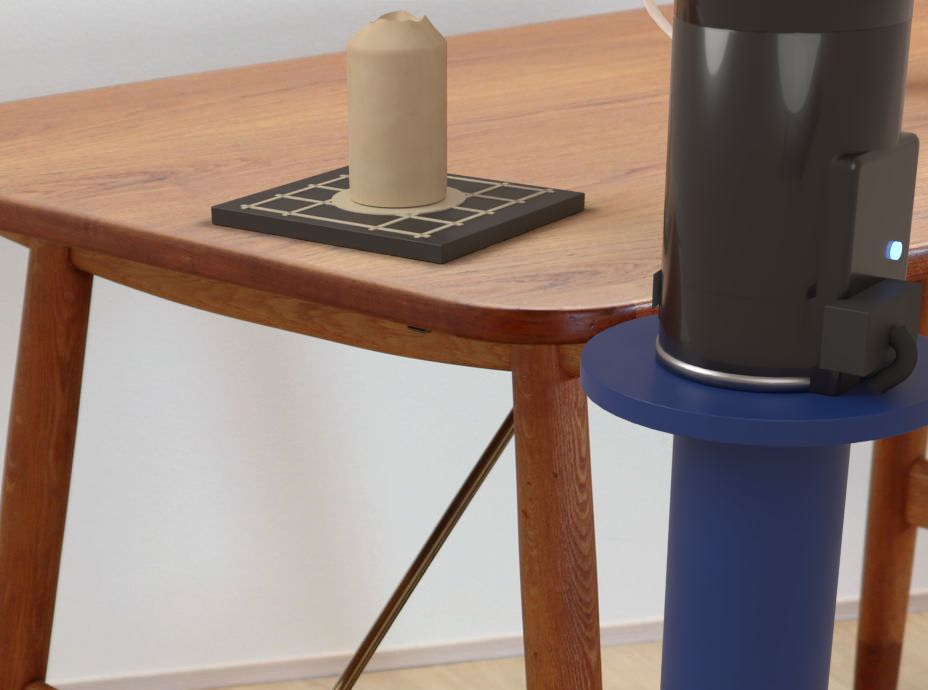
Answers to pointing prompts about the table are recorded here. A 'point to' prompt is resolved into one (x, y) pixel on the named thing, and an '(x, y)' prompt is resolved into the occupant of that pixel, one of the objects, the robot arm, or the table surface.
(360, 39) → the candle
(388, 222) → the board
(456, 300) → the table surface
